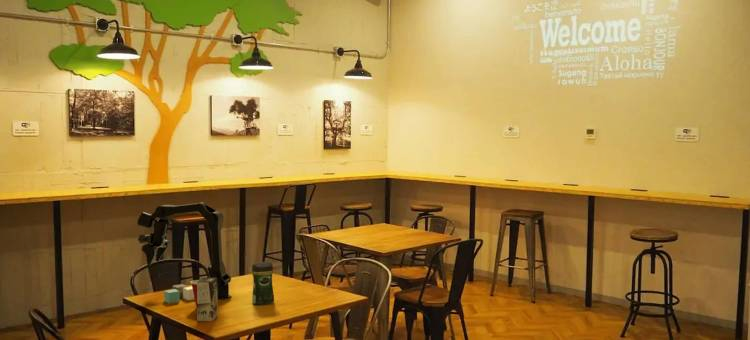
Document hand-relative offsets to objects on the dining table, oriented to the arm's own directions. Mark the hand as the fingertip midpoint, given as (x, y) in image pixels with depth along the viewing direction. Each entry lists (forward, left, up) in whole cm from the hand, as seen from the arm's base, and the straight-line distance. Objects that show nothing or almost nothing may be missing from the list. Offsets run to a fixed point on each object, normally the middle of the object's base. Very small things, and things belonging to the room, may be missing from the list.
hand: (152, 263), depth 320 cm
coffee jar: (-46, -32, -15) cm, 58 cm away
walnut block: (-10, -9, -15) cm, 20 cm away
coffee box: (-52, -2, -15) cm, 54 cm away
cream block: (-17, -11, -15) cm, 25 cm away
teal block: (-17, -2, -15) cm, 23 cm away
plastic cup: (-36, -8, -15) cm, 40 cm away
